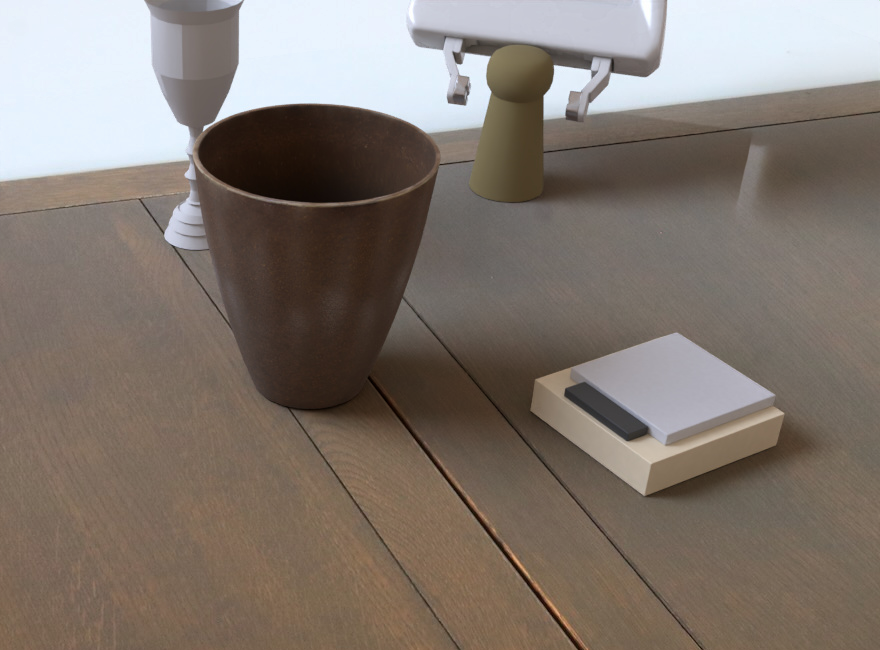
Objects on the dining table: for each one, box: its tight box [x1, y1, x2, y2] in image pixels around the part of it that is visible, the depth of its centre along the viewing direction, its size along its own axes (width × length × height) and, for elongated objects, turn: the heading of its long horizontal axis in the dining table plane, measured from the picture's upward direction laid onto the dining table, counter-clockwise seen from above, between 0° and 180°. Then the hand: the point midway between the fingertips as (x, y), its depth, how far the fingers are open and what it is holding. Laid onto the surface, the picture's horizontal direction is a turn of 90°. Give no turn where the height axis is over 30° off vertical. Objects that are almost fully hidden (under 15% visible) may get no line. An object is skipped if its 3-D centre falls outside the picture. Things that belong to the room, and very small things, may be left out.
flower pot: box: [192, 102, 441, 410], centre depth 100 cm, size 15×15×16 cm
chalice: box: [143, 0, 245, 251], centre depth 115 cm, size 7×7×18 cm
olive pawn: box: [468, 45, 555, 203], centre depth 124 cm, size 6×6×11 cm
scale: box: [530, 331, 786, 497], centre depth 100 cm, size 11×11×3 cm
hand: (514, 110), depth 123 cm, fingers open, 8 cm apart
